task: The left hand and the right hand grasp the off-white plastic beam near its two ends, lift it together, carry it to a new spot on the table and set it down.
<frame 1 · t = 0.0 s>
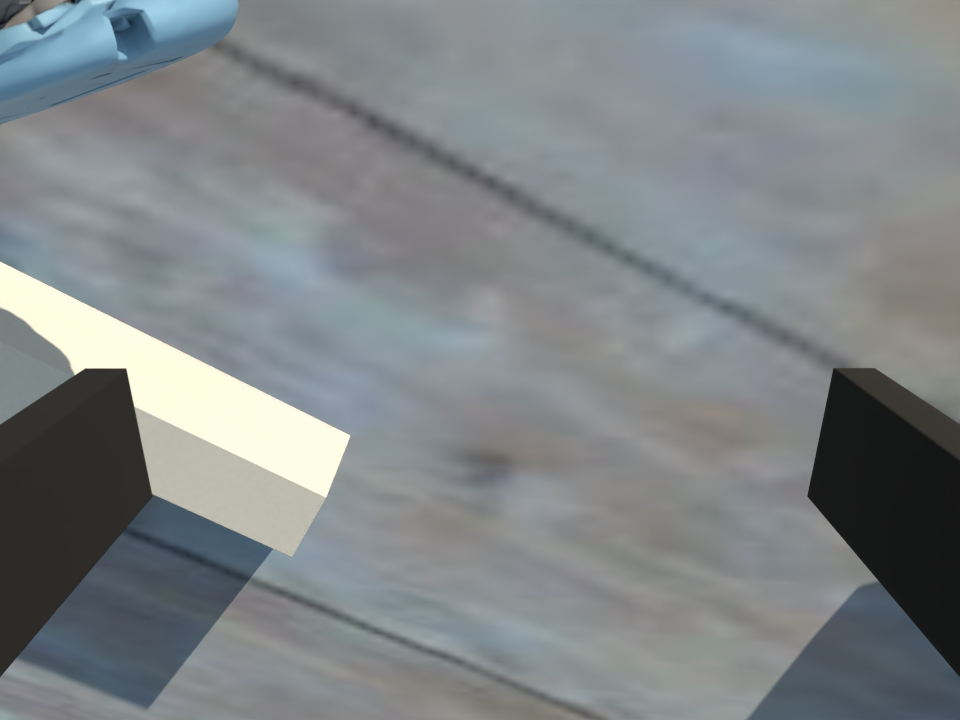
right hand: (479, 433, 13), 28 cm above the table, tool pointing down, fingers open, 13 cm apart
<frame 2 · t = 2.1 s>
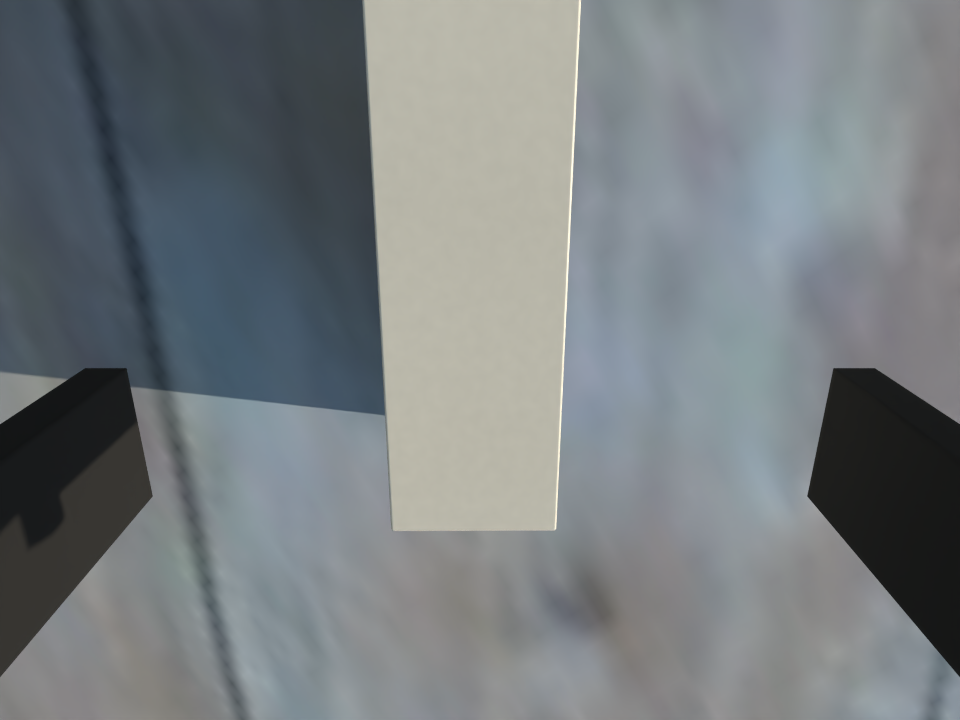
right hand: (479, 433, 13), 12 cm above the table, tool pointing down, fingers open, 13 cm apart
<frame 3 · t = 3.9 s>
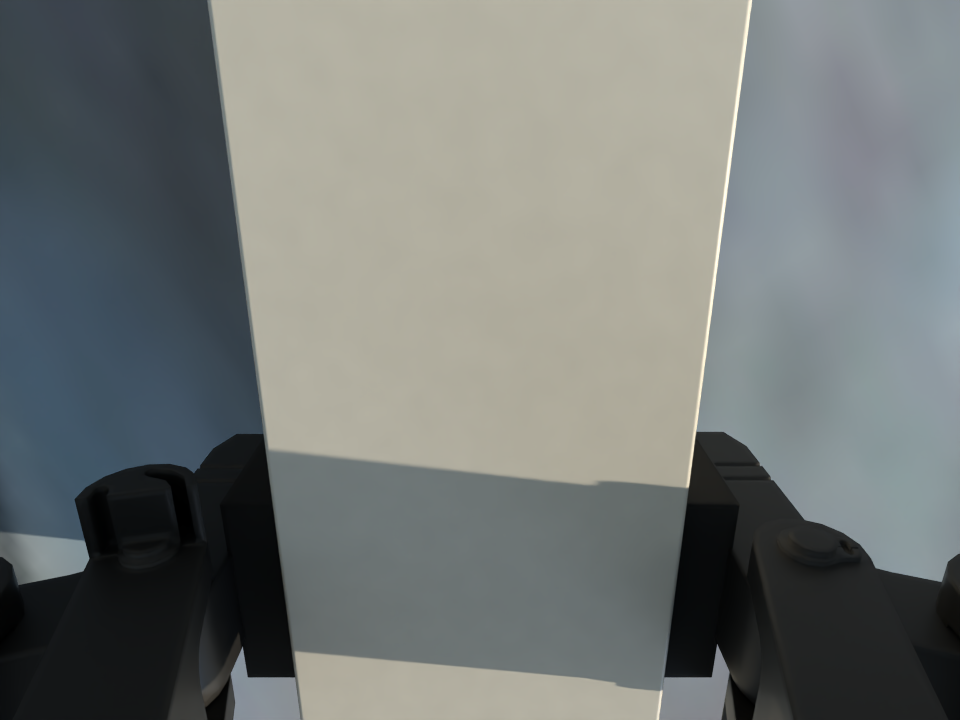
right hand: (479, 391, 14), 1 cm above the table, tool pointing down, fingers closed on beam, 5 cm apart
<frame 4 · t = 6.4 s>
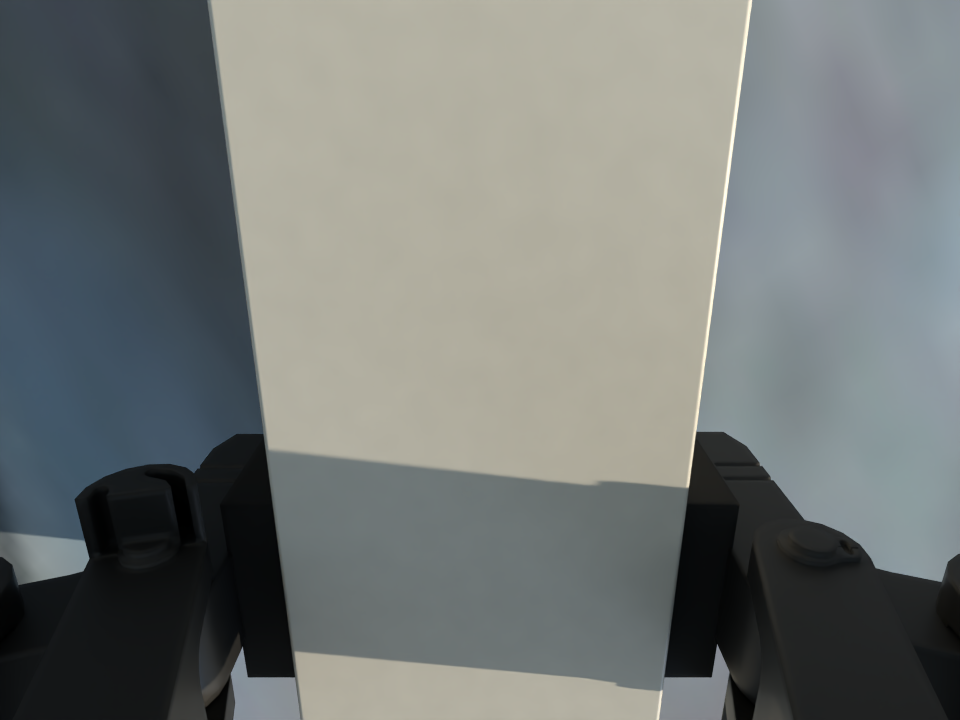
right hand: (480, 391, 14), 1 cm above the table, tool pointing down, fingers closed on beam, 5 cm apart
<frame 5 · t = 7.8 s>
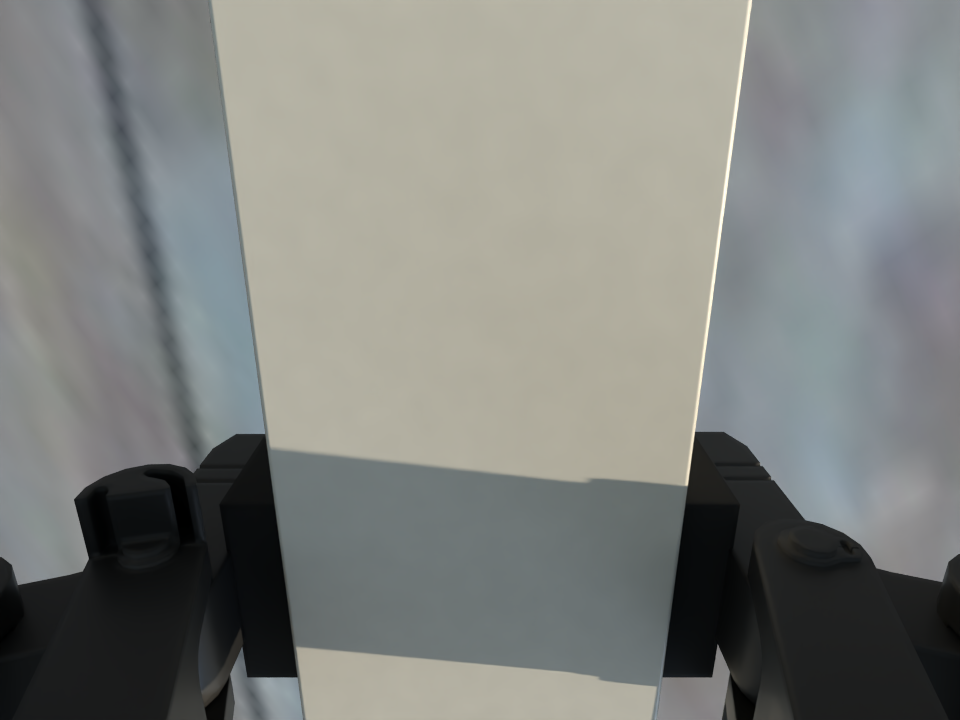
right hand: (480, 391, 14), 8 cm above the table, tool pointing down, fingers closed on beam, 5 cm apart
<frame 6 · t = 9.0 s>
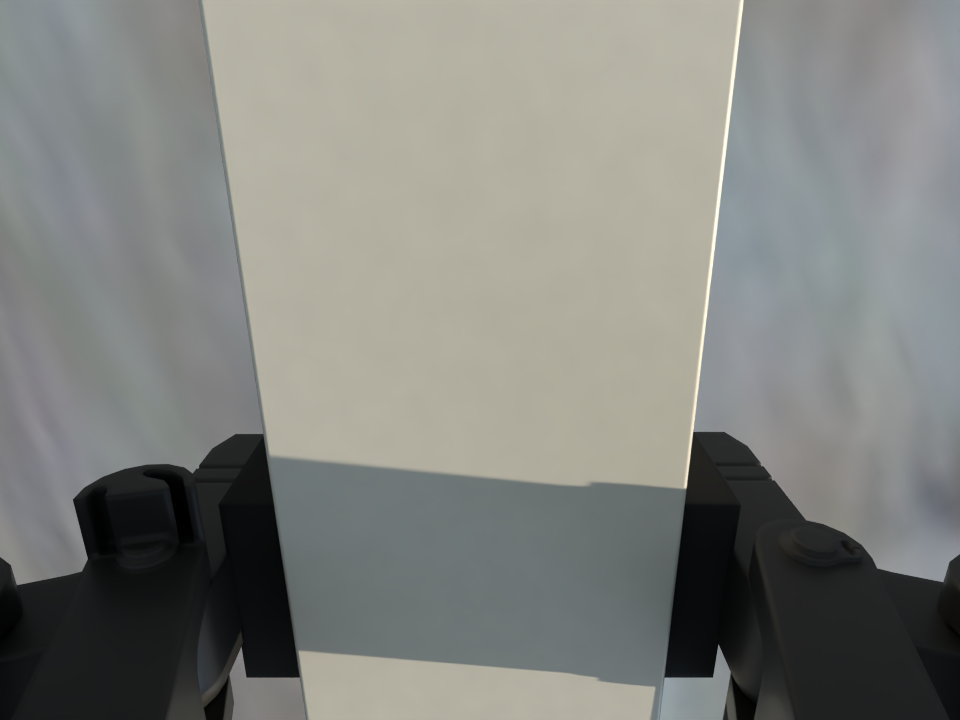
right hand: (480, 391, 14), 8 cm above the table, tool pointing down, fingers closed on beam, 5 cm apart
when the left hand's fingers open (2 cm above the table, at t = 11.6 s): beam drops 1 cm, on the table.
when the right hand's fingers open (2 cm above the table, at t = 11.6 s): beam drops 1 cm, on the table.
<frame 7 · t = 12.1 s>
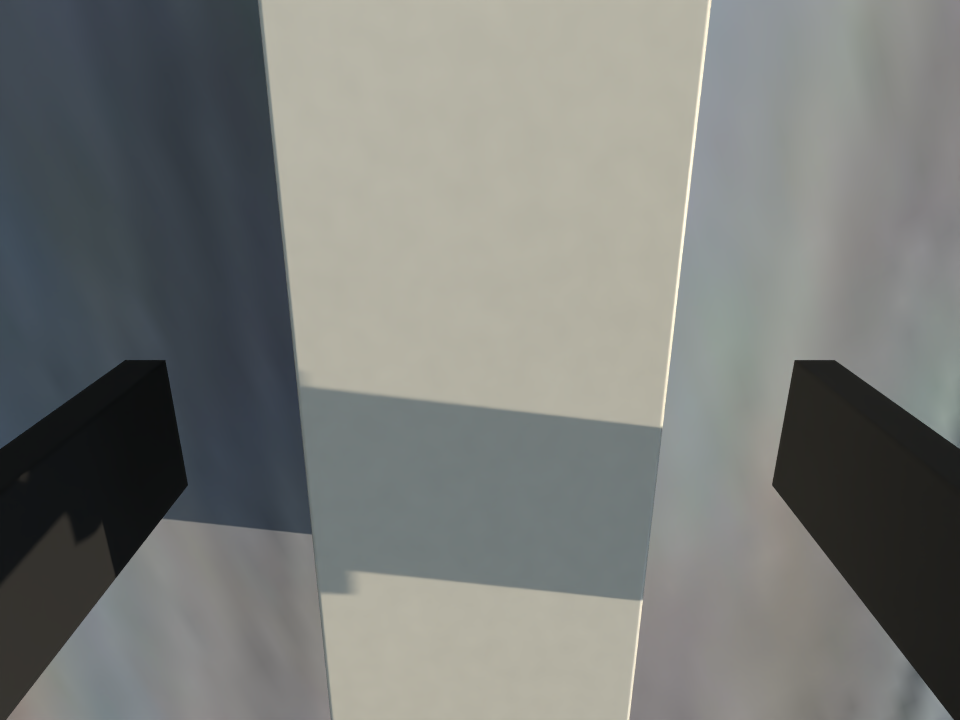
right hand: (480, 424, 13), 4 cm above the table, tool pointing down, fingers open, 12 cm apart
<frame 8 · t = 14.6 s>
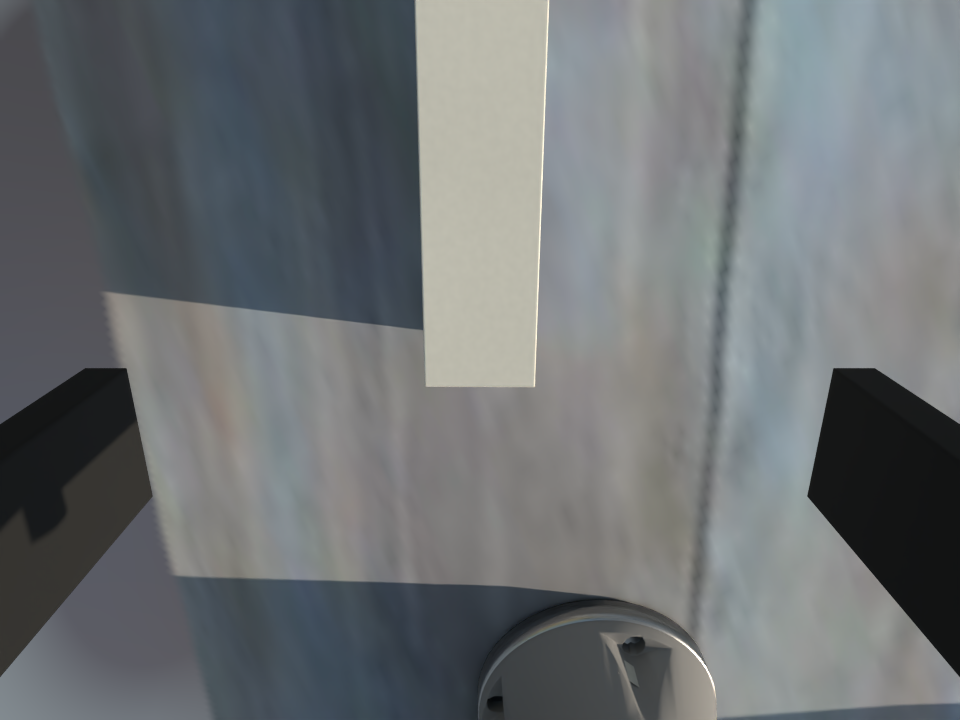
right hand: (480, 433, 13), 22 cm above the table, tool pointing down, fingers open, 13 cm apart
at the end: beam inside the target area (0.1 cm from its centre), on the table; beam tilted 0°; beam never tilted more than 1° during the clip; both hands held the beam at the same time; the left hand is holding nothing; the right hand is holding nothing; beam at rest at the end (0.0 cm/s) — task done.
